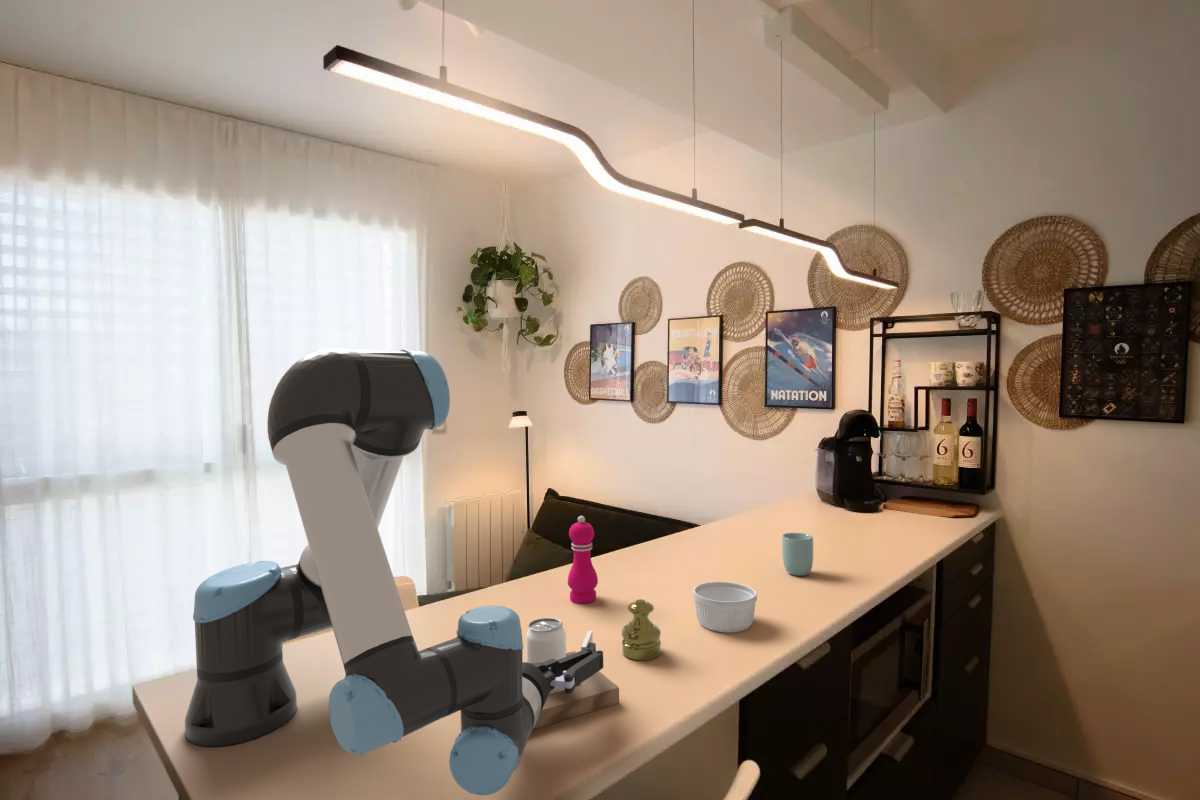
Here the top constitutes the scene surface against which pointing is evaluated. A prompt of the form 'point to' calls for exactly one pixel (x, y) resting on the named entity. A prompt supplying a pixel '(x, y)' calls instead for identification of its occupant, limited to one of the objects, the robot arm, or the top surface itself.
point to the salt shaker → (641, 633)
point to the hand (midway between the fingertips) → (550, 636)
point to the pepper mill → (582, 563)
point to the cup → (797, 553)
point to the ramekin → (725, 606)
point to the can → (546, 642)
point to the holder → (579, 699)
